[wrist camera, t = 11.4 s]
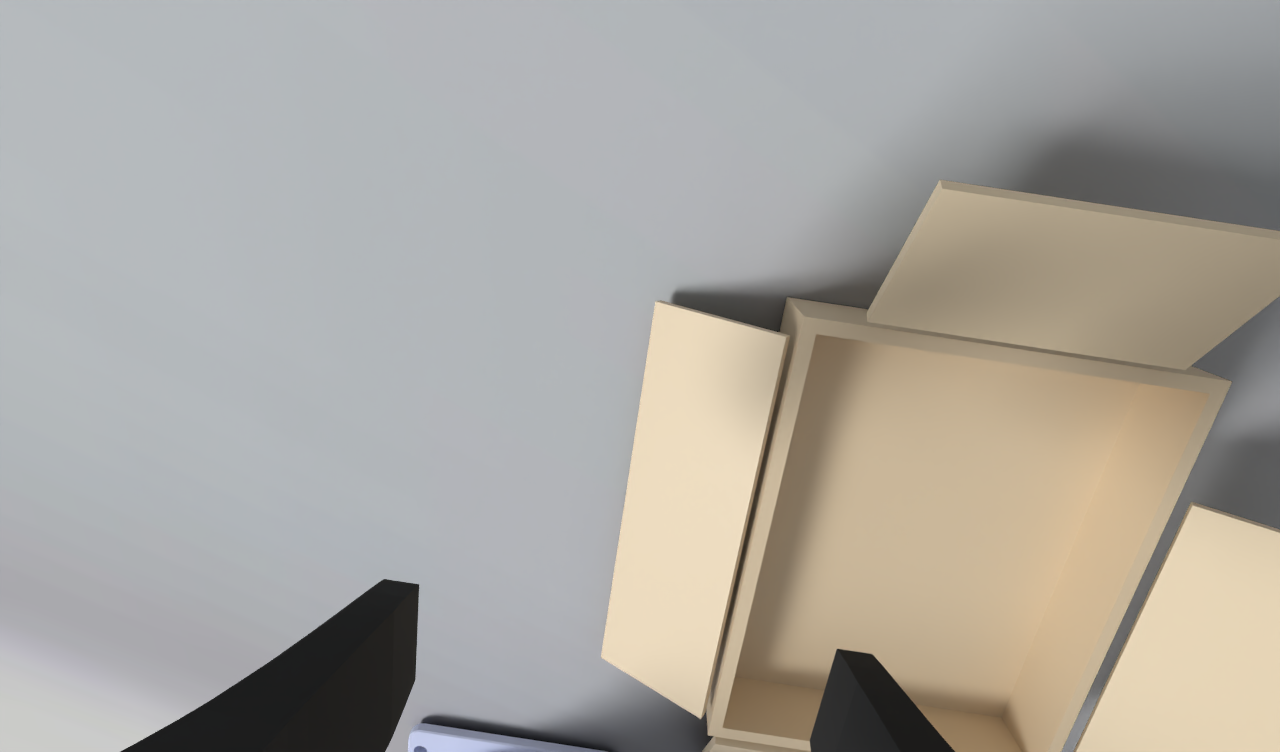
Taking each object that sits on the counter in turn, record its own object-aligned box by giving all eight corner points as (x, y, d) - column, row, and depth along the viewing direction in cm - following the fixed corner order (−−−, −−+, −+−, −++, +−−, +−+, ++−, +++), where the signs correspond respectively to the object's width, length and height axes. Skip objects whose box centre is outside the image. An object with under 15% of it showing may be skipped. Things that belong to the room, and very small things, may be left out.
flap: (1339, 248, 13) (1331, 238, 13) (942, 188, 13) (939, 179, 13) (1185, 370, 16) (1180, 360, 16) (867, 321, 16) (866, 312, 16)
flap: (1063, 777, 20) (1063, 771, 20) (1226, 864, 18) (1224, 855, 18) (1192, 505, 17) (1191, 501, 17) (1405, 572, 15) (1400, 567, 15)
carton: (975, 798, 24) (1009, 869, 22) (588, 738, 24) (578, 803, 22) (1161, 353, 19) (1236, 382, 16) (659, 277, 19) (656, 294, 16)
